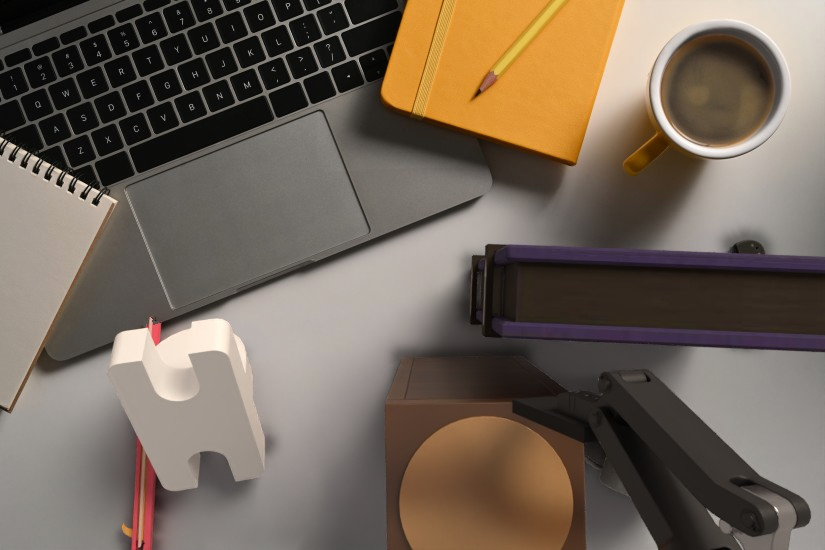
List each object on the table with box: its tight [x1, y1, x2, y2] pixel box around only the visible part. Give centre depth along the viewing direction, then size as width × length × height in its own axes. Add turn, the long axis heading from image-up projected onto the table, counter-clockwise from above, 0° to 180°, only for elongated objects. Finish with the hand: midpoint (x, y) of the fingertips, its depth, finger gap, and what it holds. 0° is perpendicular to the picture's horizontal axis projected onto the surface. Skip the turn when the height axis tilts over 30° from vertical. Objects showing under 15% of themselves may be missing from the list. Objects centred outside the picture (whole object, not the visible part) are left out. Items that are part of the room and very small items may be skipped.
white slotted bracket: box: [106, 317, 266, 492], centre depth 65 cm, size 10×18×11 cm
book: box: [468, 243, 825, 353], centre depth 54 cm, size 24×6×30 cm, turn 88°
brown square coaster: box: [383, 398, 588, 550], centre depth 42 cm, size 12×12×2 cm
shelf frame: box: [385, 355, 571, 401], centre depth 56 cm, size 12×12×26 cm
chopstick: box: [121, 316, 162, 550], centre depth 69 cm, size 24×2×5 cm
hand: (529, 520), depth 40 cm, fingers open, 13 cm apart
